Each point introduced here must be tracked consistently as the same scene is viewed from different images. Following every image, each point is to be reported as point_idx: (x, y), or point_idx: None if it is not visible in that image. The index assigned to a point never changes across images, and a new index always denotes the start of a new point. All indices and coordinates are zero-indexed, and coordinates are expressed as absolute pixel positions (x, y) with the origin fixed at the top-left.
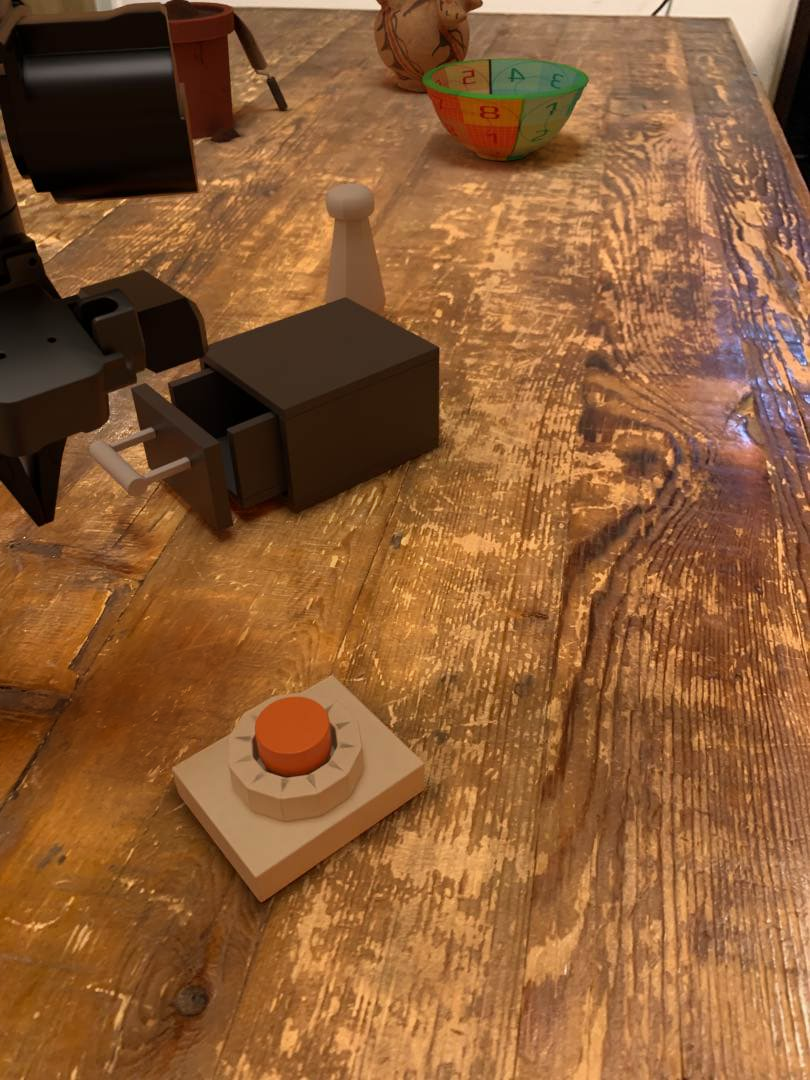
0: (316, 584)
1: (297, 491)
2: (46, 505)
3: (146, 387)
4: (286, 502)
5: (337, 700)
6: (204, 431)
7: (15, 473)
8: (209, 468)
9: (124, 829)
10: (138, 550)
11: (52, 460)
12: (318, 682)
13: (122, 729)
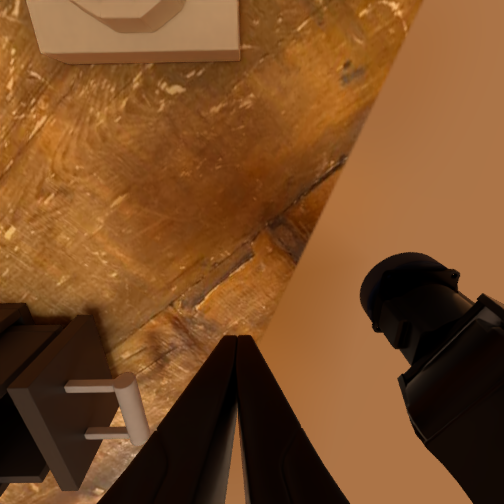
0: (35, 216)
1: (2, 316)
2: (226, 359)
3: (62, 485)
4: (26, 316)
5: (46, 7)
6: (19, 410)
7: (275, 461)
8: (44, 366)
9: (294, 57)
10: (161, 334)
11: (163, 460)
12: (59, 52)
13: (247, 167)
